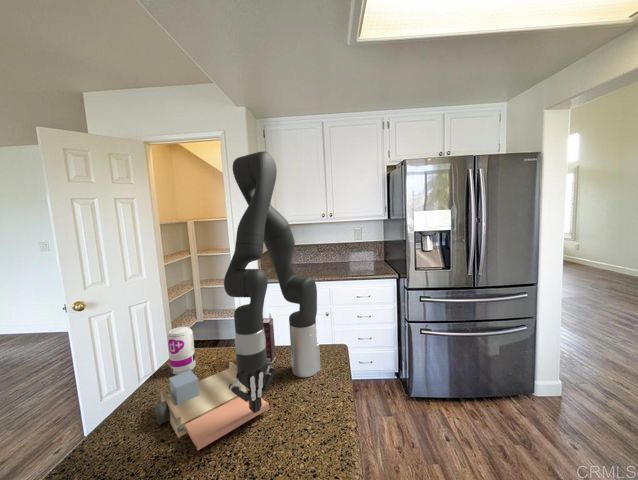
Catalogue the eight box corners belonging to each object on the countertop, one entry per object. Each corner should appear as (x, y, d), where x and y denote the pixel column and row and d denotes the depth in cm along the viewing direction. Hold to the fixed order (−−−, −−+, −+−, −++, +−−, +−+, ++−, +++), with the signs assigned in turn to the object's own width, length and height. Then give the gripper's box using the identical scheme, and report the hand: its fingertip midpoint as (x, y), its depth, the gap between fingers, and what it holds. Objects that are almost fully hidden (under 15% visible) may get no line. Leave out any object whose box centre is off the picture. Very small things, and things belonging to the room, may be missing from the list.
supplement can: (186, 376, 96) (182, 335, 95) (165, 374, 98) (161, 334, 97) (200, 364, 104) (196, 325, 103) (181, 362, 106) (177, 325, 105)
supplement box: (276, 357, 106) (273, 317, 105) (272, 364, 101) (269, 322, 100) (254, 357, 107) (252, 317, 106) (250, 363, 103) (247, 322, 101)
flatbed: (239, 372, 97) (238, 358, 97) (265, 394, 84) (264, 378, 84) (152, 411, 79) (150, 395, 78) (168, 446, 66) (166, 427, 65)
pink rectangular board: (252, 389, 82) (268, 403, 75) (252, 393, 82) (269, 408, 75) (184, 424, 69) (197, 444, 62) (185, 429, 69) (197, 450, 62)
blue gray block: (191, 385, 86) (190, 369, 85) (199, 394, 80) (198, 378, 80) (170, 394, 82) (169, 378, 81) (177, 405, 76) (176, 388, 76)
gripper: (265, 333, 77) (269, 392, 78) (219, 351, 68) (225, 416, 69) (280, 341, 71) (285, 404, 73) (232, 361, 63) (238, 432, 64)
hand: (255, 410), depth 71 cm, fingers closed
